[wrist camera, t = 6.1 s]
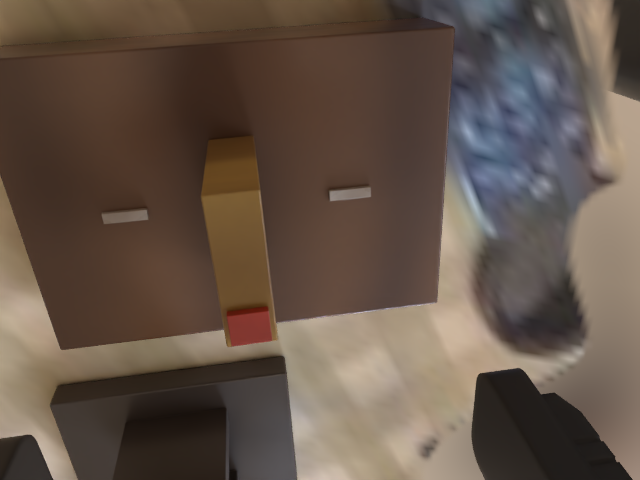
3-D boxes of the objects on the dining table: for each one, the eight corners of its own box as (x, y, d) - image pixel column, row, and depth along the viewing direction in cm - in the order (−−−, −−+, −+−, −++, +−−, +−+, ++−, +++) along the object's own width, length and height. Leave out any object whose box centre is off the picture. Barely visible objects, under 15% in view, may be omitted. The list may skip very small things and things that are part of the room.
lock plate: (424, 17, 19) (457, 27, 16) (414, 265, 23) (439, 306, 21) (1, 45, 17) (-44, 62, 14) (80, 304, 22) (58, 354, 19)
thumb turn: (207, 139, 17) (199, 199, 12) (253, 135, 17) (260, 193, 12) (228, 265, 19) (226, 353, 14) (268, 260, 19) (279, 346, 15)
